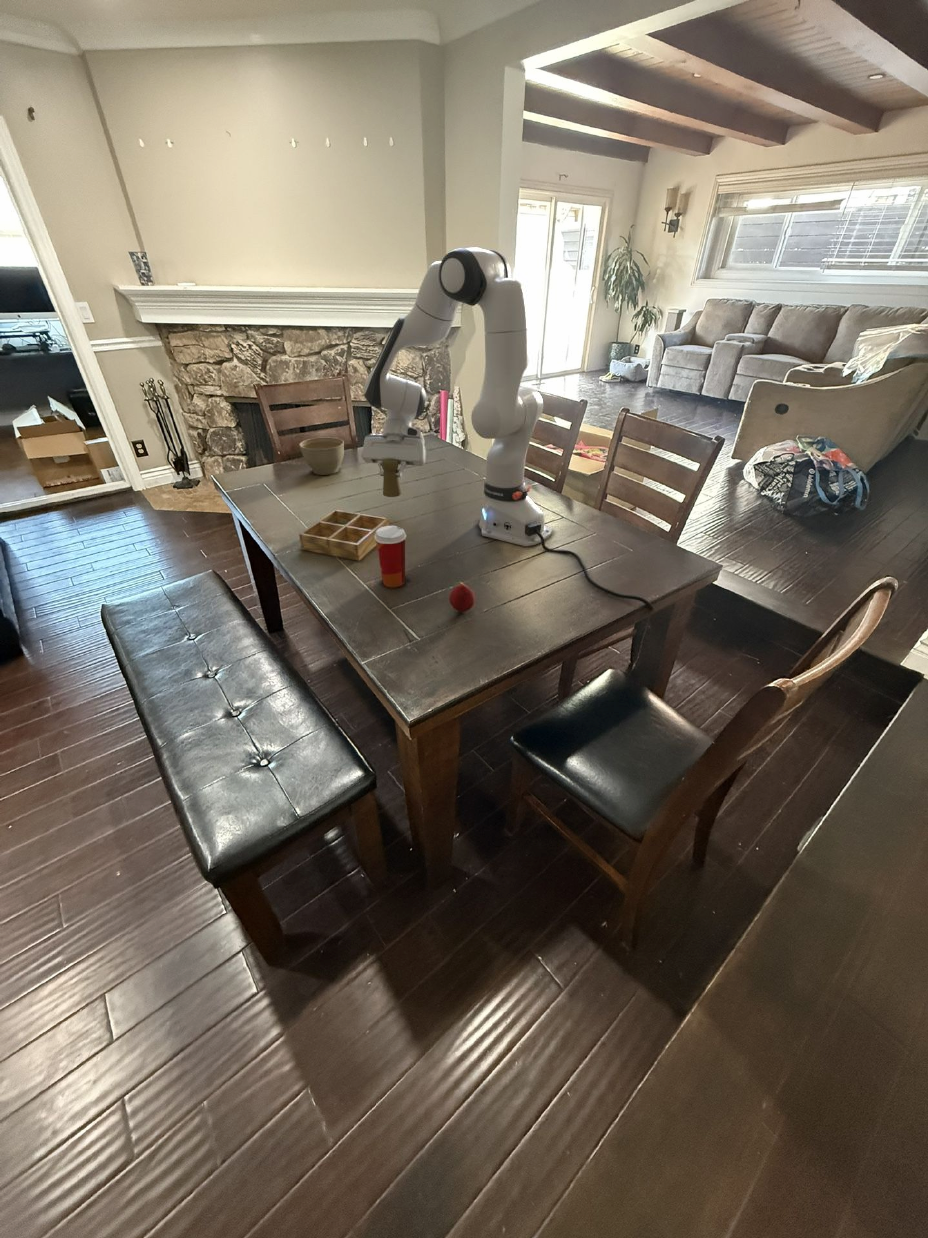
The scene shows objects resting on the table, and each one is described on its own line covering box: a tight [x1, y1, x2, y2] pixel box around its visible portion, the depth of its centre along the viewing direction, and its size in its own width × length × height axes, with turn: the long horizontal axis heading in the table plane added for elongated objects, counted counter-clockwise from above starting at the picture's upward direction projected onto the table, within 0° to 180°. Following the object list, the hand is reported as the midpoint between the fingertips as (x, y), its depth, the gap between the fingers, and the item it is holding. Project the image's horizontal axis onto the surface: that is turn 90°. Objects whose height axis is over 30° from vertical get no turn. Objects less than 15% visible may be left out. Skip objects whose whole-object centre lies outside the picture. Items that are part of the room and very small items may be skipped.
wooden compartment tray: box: [298, 509, 390, 562], centre depth 148 cm, size 18×18×5 cm
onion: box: [449, 581, 476, 614], centre depth 117 cm, size 6×6×8 cm
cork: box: [382, 458, 403, 498], centre depth 160 cm, size 6×6×11 cm
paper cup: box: [374, 525, 407, 588], centre depth 126 cm, size 8×8×14 cm
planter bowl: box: [299, 436, 345, 476], centre depth 194 cm, size 16×16×11 cm
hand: (390, 475), depth 160 cm, fingers closed on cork, 4 cm apart
